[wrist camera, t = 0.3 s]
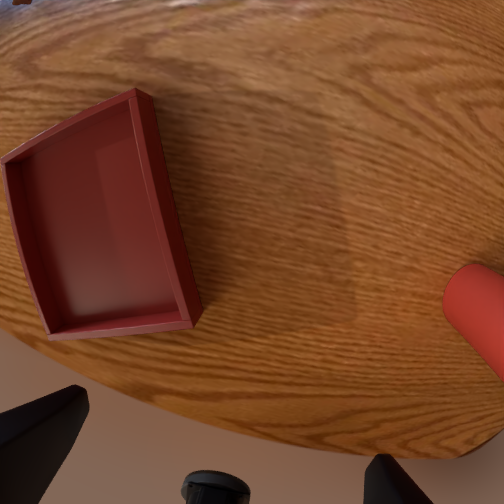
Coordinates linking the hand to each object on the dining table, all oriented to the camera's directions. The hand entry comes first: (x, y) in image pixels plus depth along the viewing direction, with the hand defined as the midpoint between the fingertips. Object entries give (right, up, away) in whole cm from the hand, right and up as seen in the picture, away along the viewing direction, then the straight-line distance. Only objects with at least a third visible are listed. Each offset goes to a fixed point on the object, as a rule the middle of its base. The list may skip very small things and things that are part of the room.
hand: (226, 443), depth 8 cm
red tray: (-11, +7, +13) cm, 19 cm away
